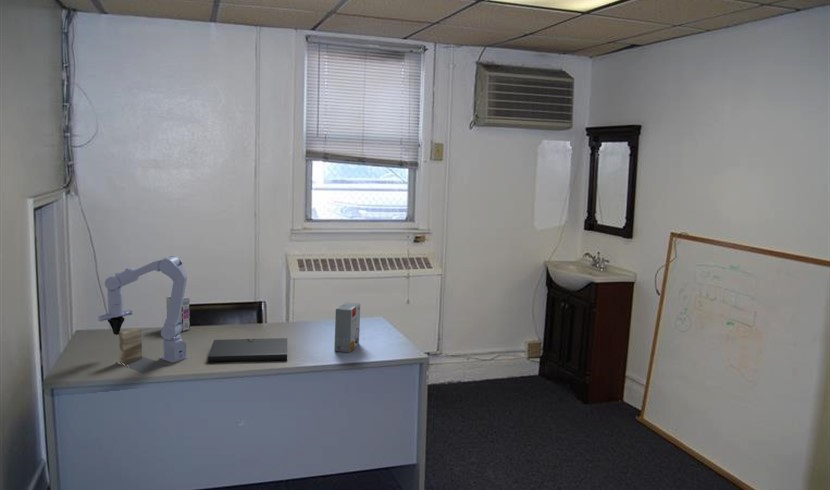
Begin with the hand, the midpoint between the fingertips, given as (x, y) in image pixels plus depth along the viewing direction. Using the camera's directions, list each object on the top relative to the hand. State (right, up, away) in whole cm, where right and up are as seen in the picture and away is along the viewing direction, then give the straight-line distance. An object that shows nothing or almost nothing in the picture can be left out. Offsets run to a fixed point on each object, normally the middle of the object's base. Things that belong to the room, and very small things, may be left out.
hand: (116, 334), depth 281 cm
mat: (+14, -12, -8) cm, 20 cm away
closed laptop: (+54, -11, +11) cm, 57 cm away
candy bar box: (+10, -4, +45) cm, 47 cm away
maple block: (+8, -11, -4) cm, 14 cm away
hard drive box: (+97, -10, +25) cm, 100 cm away
